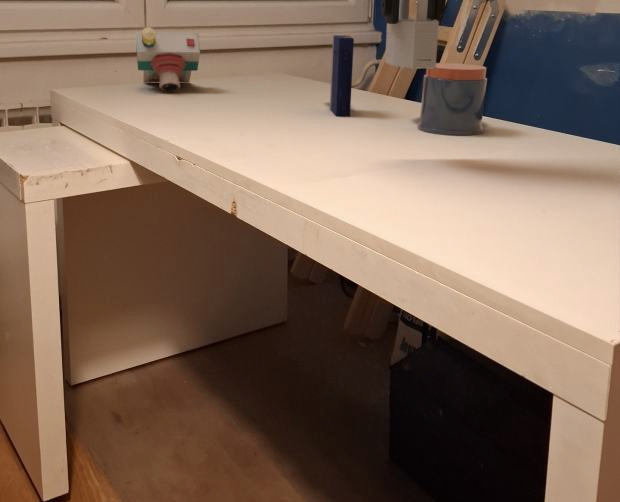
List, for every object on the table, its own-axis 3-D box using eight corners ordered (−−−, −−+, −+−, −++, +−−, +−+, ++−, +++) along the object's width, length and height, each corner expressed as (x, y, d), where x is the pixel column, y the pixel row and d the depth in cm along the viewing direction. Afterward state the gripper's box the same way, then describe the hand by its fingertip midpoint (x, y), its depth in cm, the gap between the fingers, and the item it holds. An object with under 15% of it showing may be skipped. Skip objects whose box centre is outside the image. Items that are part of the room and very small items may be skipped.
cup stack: (469, 123, 119) (476, 63, 115) (492, 135, 111) (501, 70, 107) (409, 123, 118) (414, 62, 114) (428, 135, 109) (434, 69, 105)
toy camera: (140, 116, 151) (140, 71, 132) (136, 73, 152) (136, 22, 133) (196, 116, 154) (204, 72, 134) (192, 73, 154) (199, 23, 135)
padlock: (380, 64, 88) (384, -32, 84) (411, 63, 89) (416, -32, 85) (408, 70, 82) (414, -33, 78) (440, 69, 83) (448, -32, 79)
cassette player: (350, 116, 122) (354, 36, 117) (336, 116, 122) (339, 36, 116) (343, 109, 129) (346, 33, 123) (329, 109, 128) (332, 32, 123)
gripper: (350, -186, 71) (345, 25, 79) (518, -179, 74) (496, 25, 82) (335, -172, 78) (331, 21, 86) (489, -166, 80) (472, 21, 88)
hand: (412, 21), depth 84 cm, fingers closed on padlock, 4 cm apart
